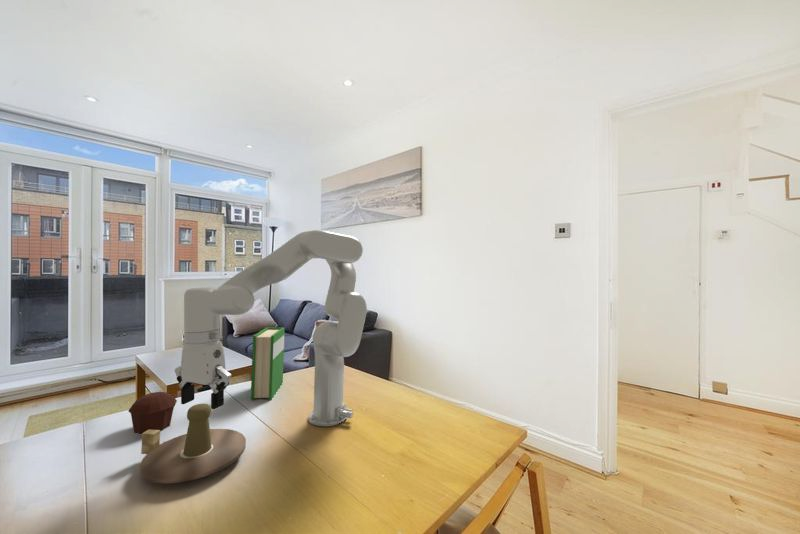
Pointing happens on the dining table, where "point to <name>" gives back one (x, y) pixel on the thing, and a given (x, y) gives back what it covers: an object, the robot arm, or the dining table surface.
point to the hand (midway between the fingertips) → (202, 404)
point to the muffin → (152, 412)
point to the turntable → (176, 467)
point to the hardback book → (267, 363)
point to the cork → (198, 431)
